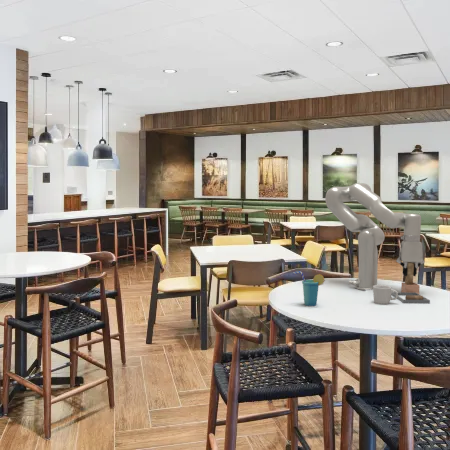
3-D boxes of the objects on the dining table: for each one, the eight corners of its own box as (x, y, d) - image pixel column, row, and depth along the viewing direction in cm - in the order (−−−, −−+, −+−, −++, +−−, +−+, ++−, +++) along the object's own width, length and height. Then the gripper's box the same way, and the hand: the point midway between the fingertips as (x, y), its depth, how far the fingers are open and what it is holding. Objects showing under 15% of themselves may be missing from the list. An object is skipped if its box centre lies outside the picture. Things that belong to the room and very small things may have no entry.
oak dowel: (406, 286, 229) (407, 262, 228) (403, 285, 232) (405, 261, 231) (413, 287, 229) (415, 263, 228) (411, 285, 232) (412, 261, 231)
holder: (406, 296, 227) (406, 284, 227) (401, 293, 234) (401, 282, 233) (419, 296, 227) (419, 285, 227) (414, 293, 233) (414, 282, 233)
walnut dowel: (406, 303, 212) (408, 298, 210) (404, 298, 215) (406, 294, 213) (422, 303, 212) (423, 299, 210) (420, 298, 214) (421, 294, 213)
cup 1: (292, 305, 207) (292, 272, 206) (293, 301, 214) (293, 269, 213) (324, 307, 204) (324, 273, 203) (324, 303, 211) (324, 270, 210)
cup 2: (397, 303, 213) (397, 285, 212) (397, 307, 205) (398, 289, 205) (372, 301, 216) (373, 284, 216) (372, 305, 209) (372, 287, 208)
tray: (403, 304, 210) (403, 299, 210) (390, 296, 226) (391, 292, 226) (429, 304, 210) (429, 300, 210) (415, 296, 226) (415, 292, 226)
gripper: (397, 239, 225) (395, 276, 226) (431, 240, 225) (429, 277, 226) (392, 237, 232) (390, 273, 234) (425, 238, 232) (423, 274, 234)
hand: (409, 275), depth 230 cm, fingers closed on oak dowel, 3 cm apart
